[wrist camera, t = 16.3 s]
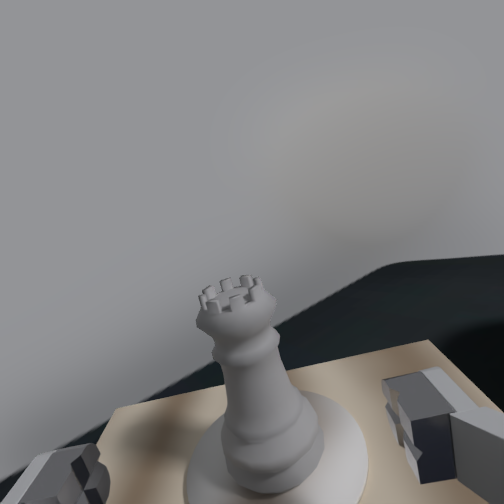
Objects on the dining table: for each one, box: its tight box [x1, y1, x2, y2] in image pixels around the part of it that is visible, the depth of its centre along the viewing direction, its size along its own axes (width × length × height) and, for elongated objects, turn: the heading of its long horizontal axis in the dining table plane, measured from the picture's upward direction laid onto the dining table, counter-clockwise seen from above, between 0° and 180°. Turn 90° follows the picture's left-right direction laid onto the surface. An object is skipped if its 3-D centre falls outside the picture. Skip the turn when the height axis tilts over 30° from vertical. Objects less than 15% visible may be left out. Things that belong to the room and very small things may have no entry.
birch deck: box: [96, 340, 504, 504], centre depth 15 cm, size 20×12×3 cm, turn 91°
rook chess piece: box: [196, 275, 324, 494], centre depth 14 cm, size 4×4×8 cm
